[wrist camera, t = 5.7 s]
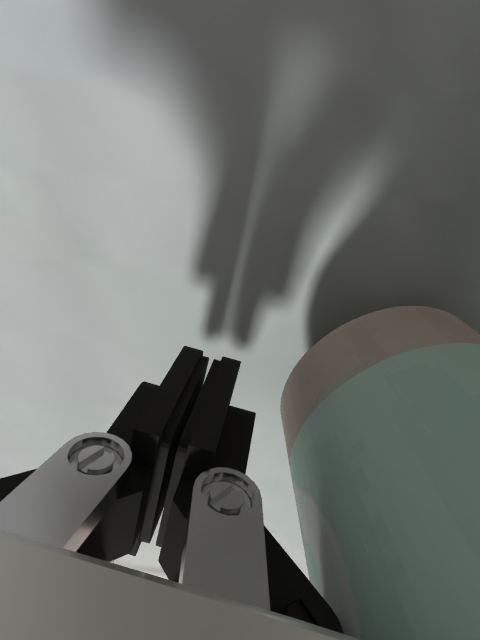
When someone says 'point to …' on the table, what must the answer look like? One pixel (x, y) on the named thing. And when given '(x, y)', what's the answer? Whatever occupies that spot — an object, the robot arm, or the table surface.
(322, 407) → the coffee cup
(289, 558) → the robot arm
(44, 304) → the table surface
